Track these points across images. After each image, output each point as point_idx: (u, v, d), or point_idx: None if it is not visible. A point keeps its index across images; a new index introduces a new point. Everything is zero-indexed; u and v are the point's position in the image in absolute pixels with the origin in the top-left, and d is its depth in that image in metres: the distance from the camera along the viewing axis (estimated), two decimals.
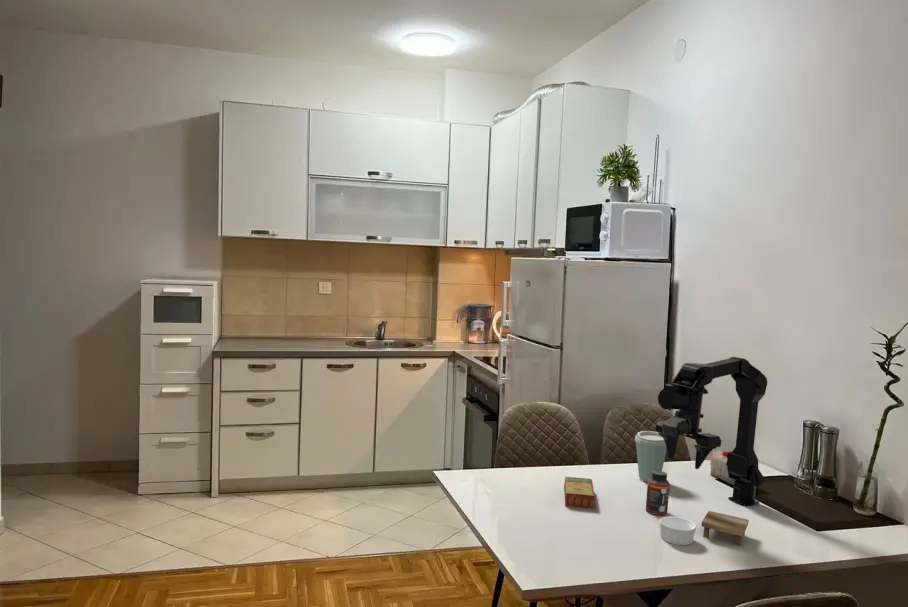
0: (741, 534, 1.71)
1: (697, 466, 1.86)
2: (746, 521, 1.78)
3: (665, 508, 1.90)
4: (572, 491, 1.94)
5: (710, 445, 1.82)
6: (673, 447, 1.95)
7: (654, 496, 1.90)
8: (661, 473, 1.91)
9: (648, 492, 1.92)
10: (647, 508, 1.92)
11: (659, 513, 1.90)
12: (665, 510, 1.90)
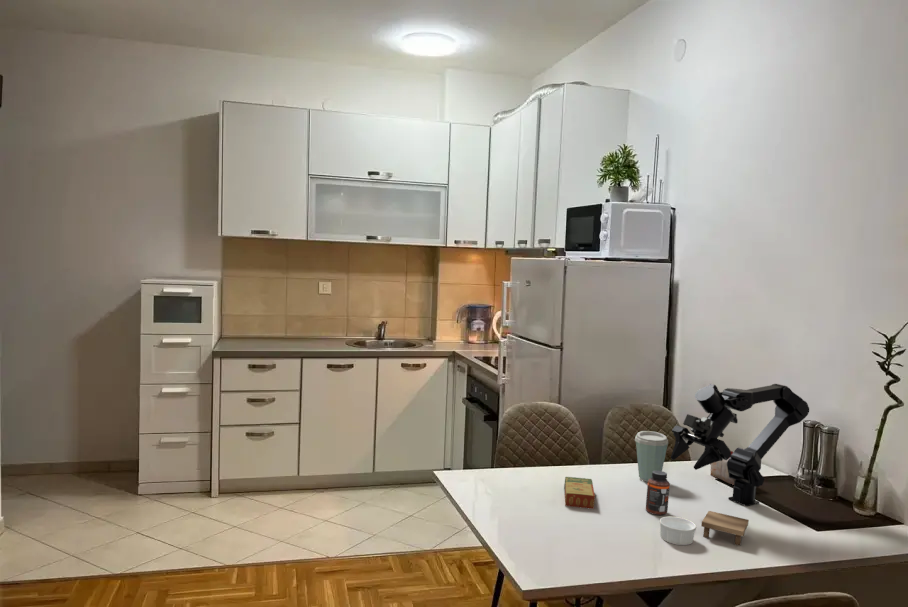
0: (741, 534, 1.71)
1: (696, 466, 1.90)
2: (746, 521, 1.78)
3: (665, 508, 1.90)
4: (572, 491, 1.94)
5: (721, 448, 1.88)
6: (679, 451, 2.00)
7: (654, 496, 1.90)
8: (661, 473, 1.91)
9: (648, 492, 1.92)
10: (647, 508, 1.92)
11: (659, 513, 1.90)
12: (665, 510, 1.90)
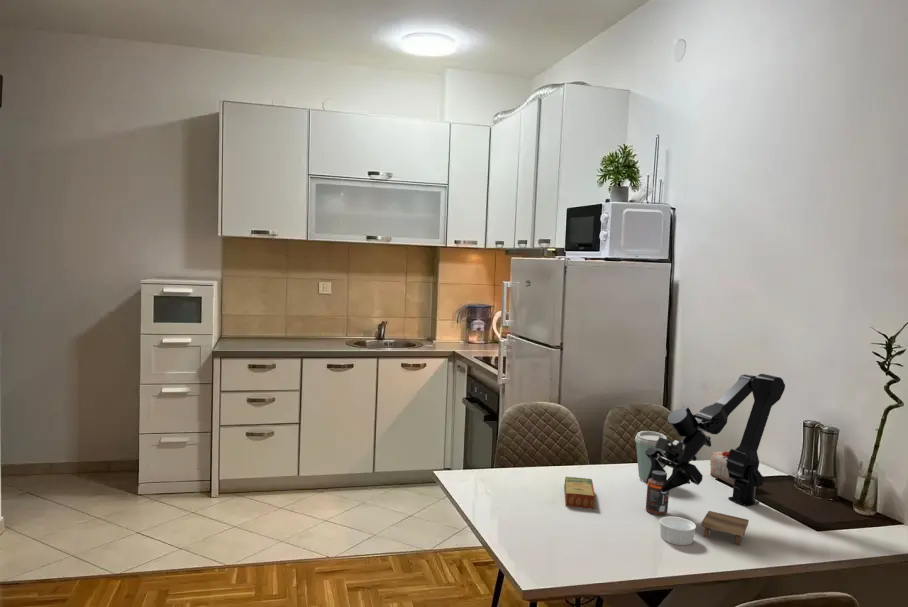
0: (741, 534, 1.71)
1: (663, 488, 1.88)
2: (746, 521, 1.78)
3: (665, 507, 1.90)
4: (572, 491, 1.94)
5: (692, 473, 1.84)
6: None
7: (654, 496, 1.90)
8: (661, 473, 1.91)
9: (648, 492, 1.92)
10: (647, 508, 1.92)
11: (659, 513, 1.90)
12: (665, 510, 1.90)
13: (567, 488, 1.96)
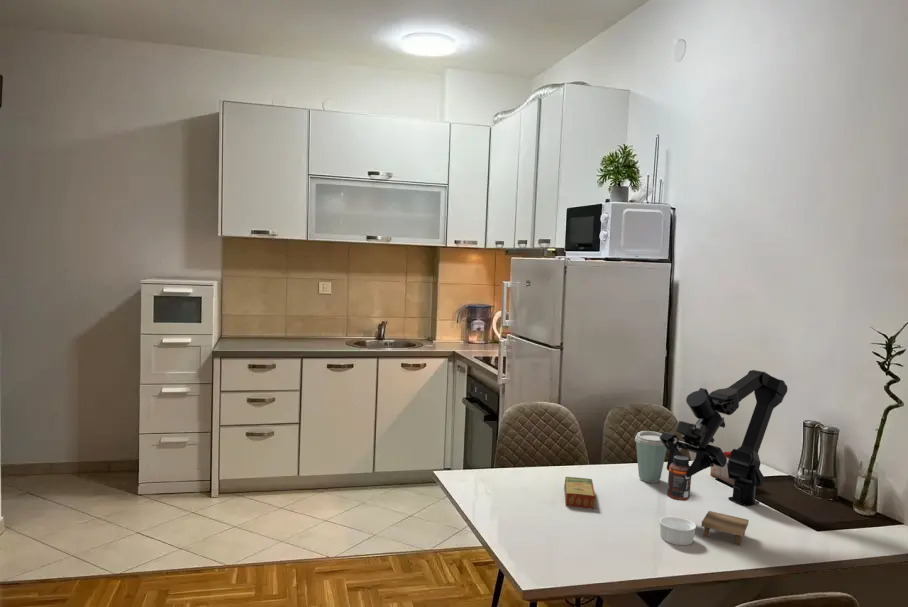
0: (741, 534, 1.71)
1: (688, 473, 1.83)
2: (746, 521, 1.78)
3: (688, 493, 1.85)
4: (572, 491, 1.94)
5: (718, 456, 1.80)
6: None
7: (678, 482, 1.84)
8: (683, 458, 1.86)
9: (671, 478, 1.86)
10: (670, 495, 1.86)
11: (683, 499, 1.85)
12: (688, 495, 1.85)
13: (567, 488, 1.96)
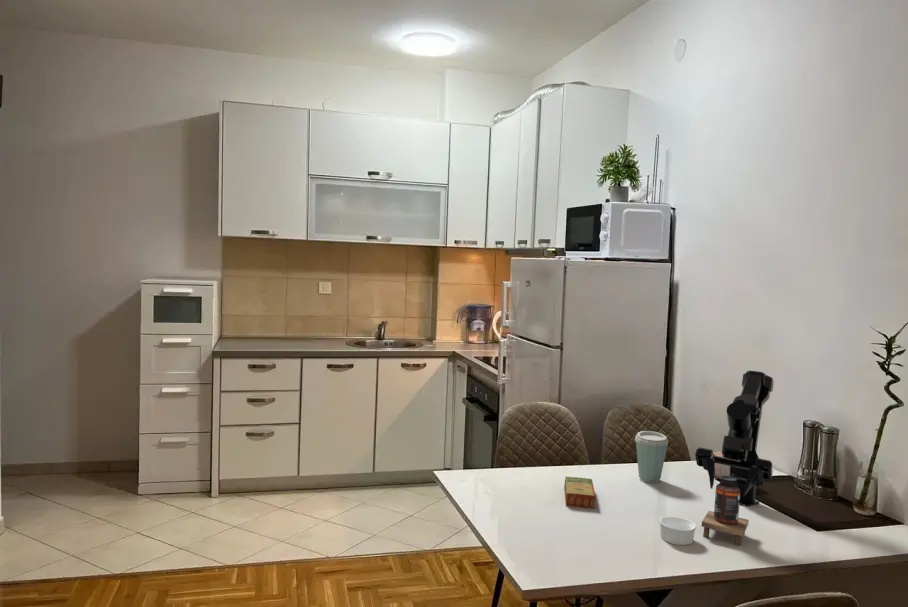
0: (741, 534, 1.71)
1: (745, 491, 1.74)
2: (746, 521, 1.78)
3: (738, 514, 1.77)
4: (572, 491, 1.94)
5: (771, 469, 1.74)
6: (713, 477, 1.80)
7: (731, 504, 1.75)
8: (732, 478, 1.77)
9: (722, 501, 1.75)
10: (722, 519, 1.75)
11: (735, 522, 1.75)
12: None
13: (567, 488, 1.96)
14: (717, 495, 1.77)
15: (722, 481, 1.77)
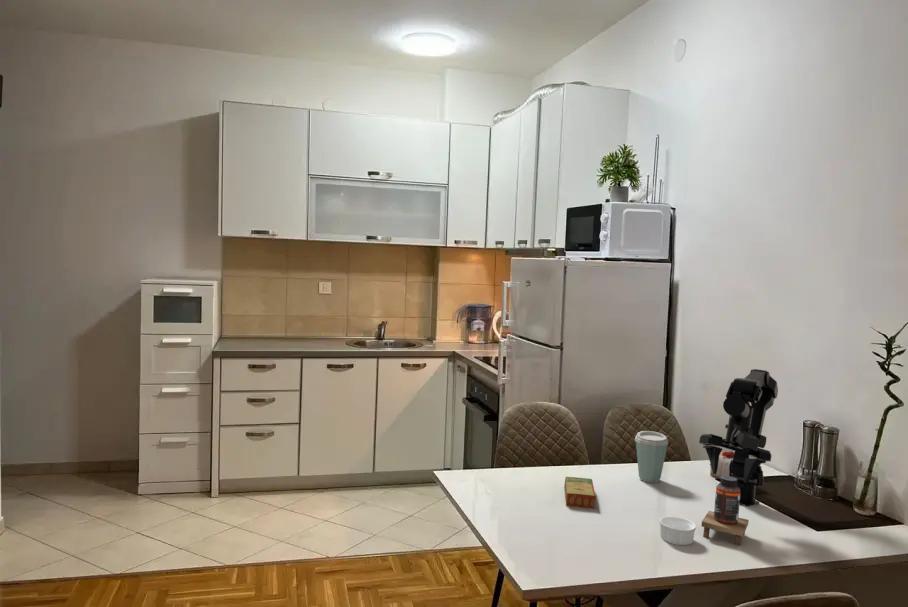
0: (741, 534, 1.71)
1: None
2: (746, 521, 1.78)
3: (738, 514, 1.77)
4: (572, 491, 1.94)
5: None
6: None
7: (731, 504, 1.75)
8: (732, 478, 1.77)
9: (722, 501, 1.75)
10: (722, 519, 1.75)
11: (735, 522, 1.75)
12: None
13: (567, 488, 1.96)
14: (717, 495, 1.77)
15: (722, 481, 1.77)
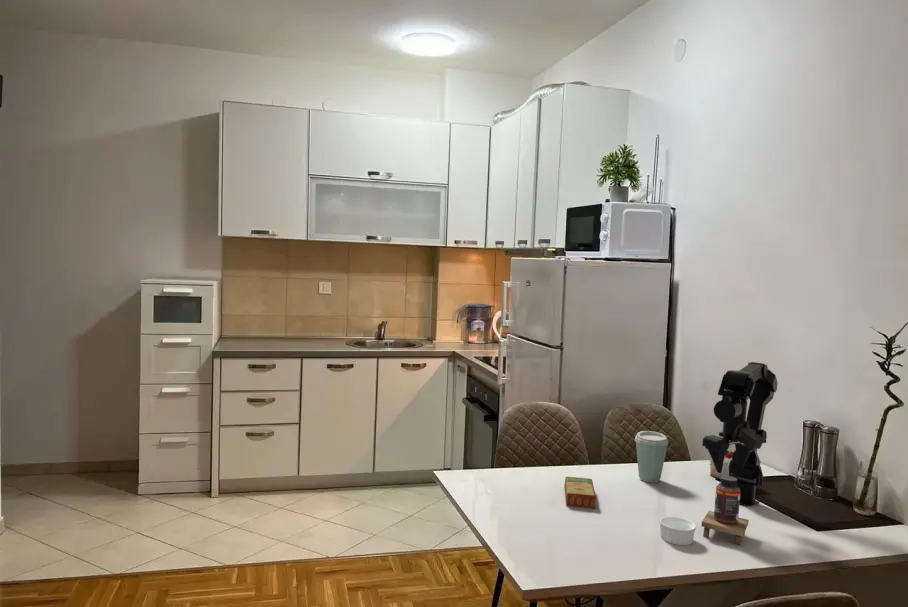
0: (741, 534, 1.71)
1: None
2: (746, 521, 1.78)
3: (738, 514, 1.77)
4: (572, 491, 1.94)
5: None
6: None
7: (731, 504, 1.75)
8: (732, 478, 1.77)
9: (722, 501, 1.75)
10: (722, 519, 1.75)
11: (735, 522, 1.75)
12: None
13: (568, 488, 1.97)
14: (717, 495, 1.77)
15: (722, 481, 1.77)
